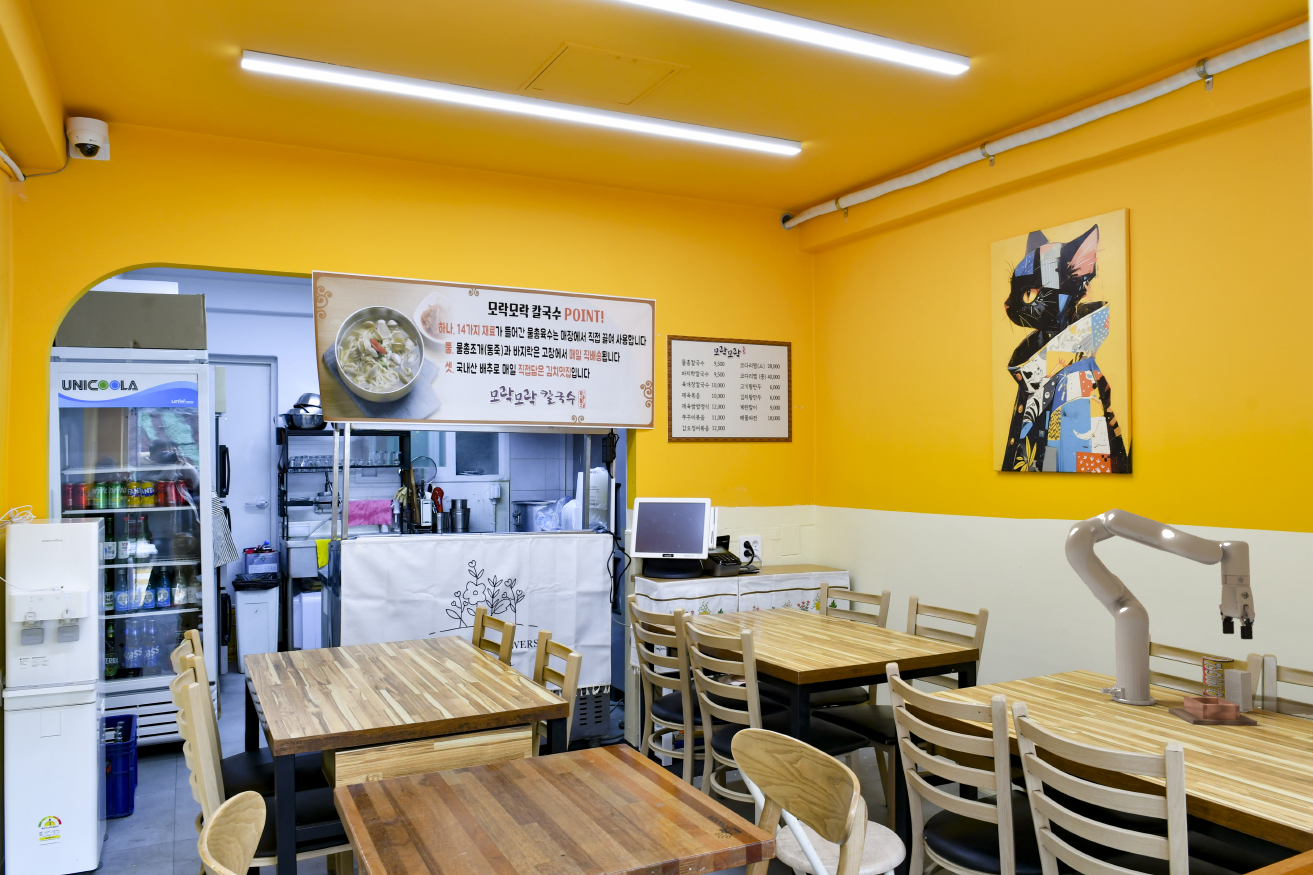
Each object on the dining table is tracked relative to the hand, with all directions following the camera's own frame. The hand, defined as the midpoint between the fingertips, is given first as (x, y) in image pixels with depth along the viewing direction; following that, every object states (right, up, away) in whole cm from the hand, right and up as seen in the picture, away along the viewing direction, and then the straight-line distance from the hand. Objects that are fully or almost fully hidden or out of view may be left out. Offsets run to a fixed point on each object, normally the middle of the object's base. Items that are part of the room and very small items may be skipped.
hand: (1237, 636), depth 280 cm
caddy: (-15, -22, -11) cm, 29 cm away
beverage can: (+6, -24, +19) cm, 31 cm away
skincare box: (0, -23, -1) cm, 23 cm away
